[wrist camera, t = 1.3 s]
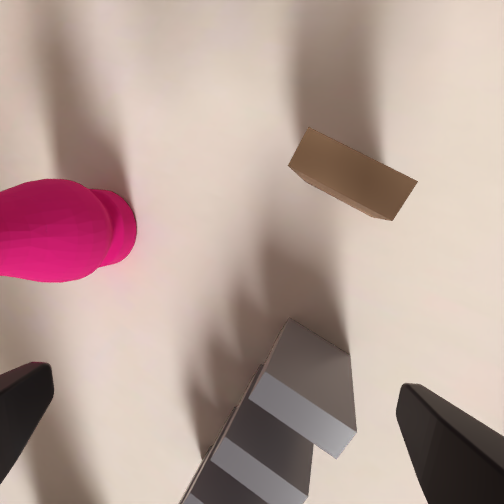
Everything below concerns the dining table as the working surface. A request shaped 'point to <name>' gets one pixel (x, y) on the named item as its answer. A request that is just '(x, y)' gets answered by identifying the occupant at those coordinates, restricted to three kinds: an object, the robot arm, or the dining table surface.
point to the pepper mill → (62, 230)
